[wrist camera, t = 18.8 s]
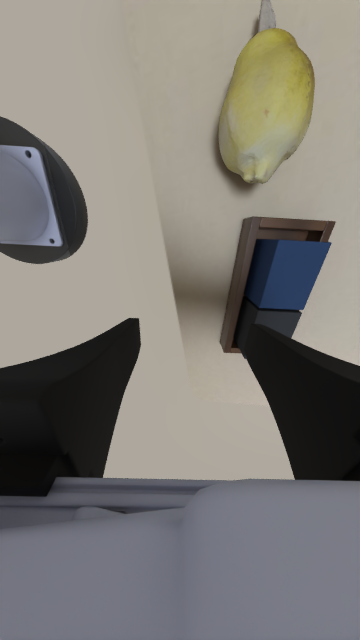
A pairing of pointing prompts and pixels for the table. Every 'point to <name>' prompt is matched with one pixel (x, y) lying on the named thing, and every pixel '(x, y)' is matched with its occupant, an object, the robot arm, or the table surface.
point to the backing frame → (249, 234)
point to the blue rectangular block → (284, 272)
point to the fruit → (266, 102)
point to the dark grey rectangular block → (263, 321)
